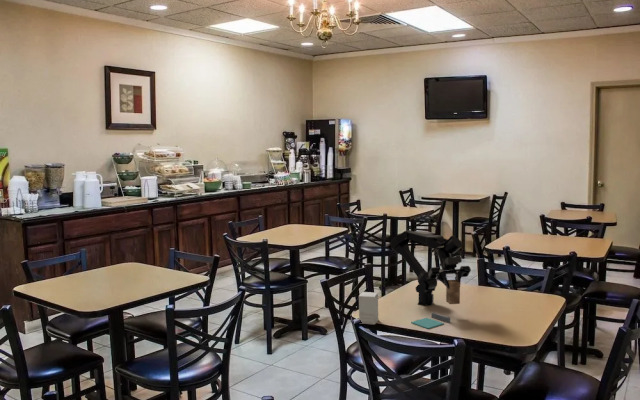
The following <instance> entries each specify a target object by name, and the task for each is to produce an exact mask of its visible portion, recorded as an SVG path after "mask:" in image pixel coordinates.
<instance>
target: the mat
mask: <svg viewBox="0 0 640 400" xmlns="http://www.w3.org/2000/svg"><path fill="white" fill-rule="evenodd" d="M410 324H413V325H415V326H418V327H420V328H423V329H427V330H430V329H434V328H436V327H440V326H443V325H444V324H445V322H442V321H439V320H437V319H434V318H433V319H432V318H430V317H423V318H421V319H418V320H414V321H411V322H410Z"/></svg>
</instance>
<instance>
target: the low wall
mask: <svg viewBox="0 0 640 400" xmlns="http://www.w3.org/2000/svg"><path fill="white" fill-rule="evenodd" d="M432 318H433V319H435V320H438V321H439V320H440V321H441V322H442V321H443V322H444V323H445V322H446V323H448V324H449V323H451V317H449V316H446V315H443V314H439V313H435V312H431V319H432Z"/></svg>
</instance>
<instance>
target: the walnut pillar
mask: <svg viewBox="0 0 640 400" xmlns="http://www.w3.org/2000/svg"><path fill="white" fill-rule="evenodd" d="M447 280H448V283H449V287H450V288H449V289H448V288H447V287H446V286H445V287H446V290H445V292H446V294H445V296H446V297H445V298H446V299H445V300H446V301H445V302H446V303H448V304H449V305H460V304H461V303H460V302H461V301H460V300H461V298H460V297H461V282H459V281H457V280H455V279H447Z"/></svg>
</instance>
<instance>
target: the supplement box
mask: <svg viewBox="0 0 640 400" xmlns="http://www.w3.org/2000/svg"><path fill="white" fill-rule="evenodd" d="M358 317H359V318H358V319H359V320H361V322H362V323H361V324H365V325H376V324H377V322H378V321H379V293H378V292H371V291H369V292H368V291H362V292H361V293H360V294H359V295H358Z"/></svg>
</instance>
